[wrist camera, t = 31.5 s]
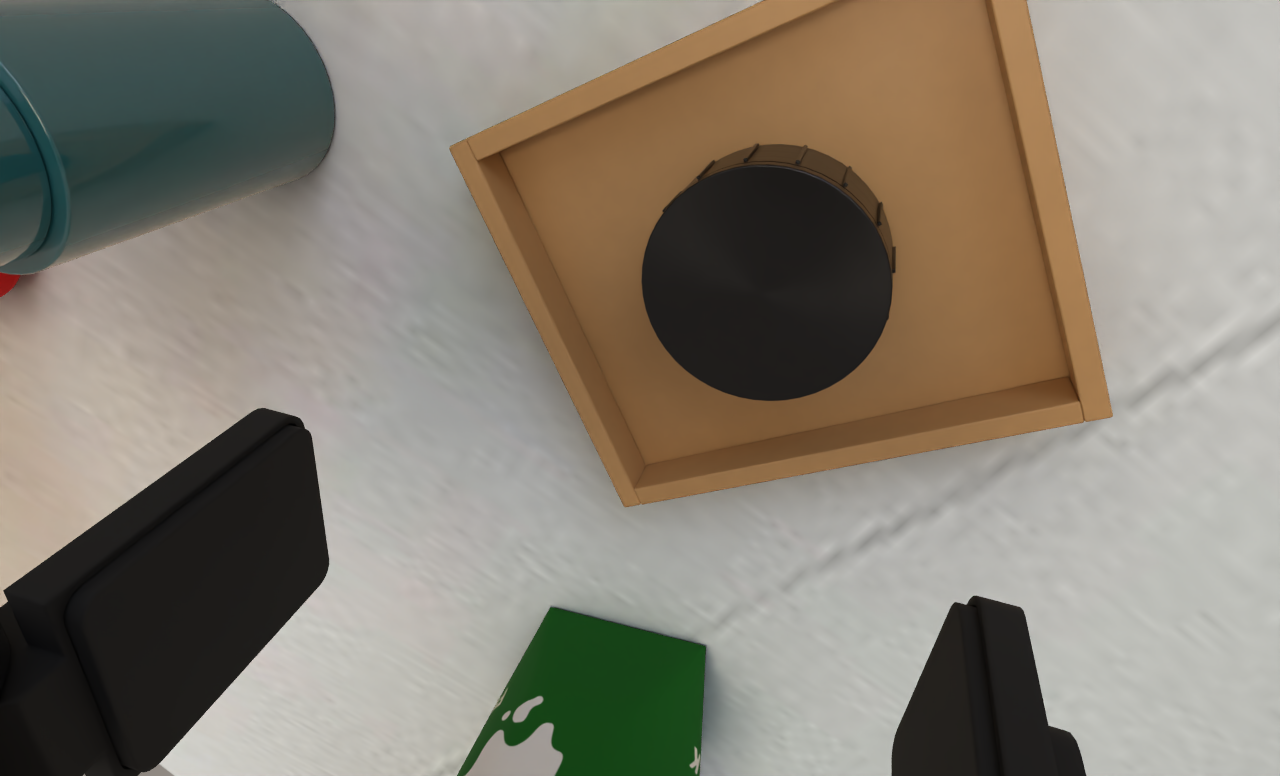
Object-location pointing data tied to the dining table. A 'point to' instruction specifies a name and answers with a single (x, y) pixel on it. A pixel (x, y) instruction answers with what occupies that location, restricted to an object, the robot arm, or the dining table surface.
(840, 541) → the dining table surface
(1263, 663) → the dining table surface
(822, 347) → the lid
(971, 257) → the tray
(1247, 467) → the dining table surface
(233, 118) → the jar
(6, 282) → the beverage can
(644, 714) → the milk carton
